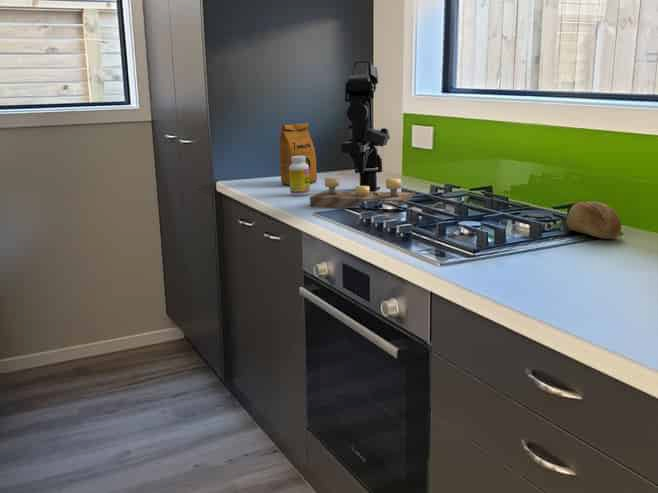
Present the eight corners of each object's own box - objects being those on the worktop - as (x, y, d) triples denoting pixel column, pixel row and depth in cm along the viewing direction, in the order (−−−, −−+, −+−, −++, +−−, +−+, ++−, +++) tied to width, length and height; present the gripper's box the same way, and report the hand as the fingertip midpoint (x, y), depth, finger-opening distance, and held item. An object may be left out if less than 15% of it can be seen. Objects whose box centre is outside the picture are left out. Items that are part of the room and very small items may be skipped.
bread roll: (596, 244, 155) (598, 209, 153) (555, 231, 169) (556, 199, 167) (631, 239, 158) (633, 205, 156) (587, 226, 172) (589, 195, 170)
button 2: (389, 195, 209) (388, 178, 208) (403, 195, 208) (402, 178, 206) (384, 197, 205) (384, 180, 204) (398, 198, 204) (398, 181, 202)
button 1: (328, 193, 217) (328, 177, 216) (341, 193, 215) (341, 177, 214) (323, 195, 213) (322, 179, 212) (336, 196, 212) (335, 179, 210)
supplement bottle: (307, 196, 229) (305, 157, 225) (288, 196, 230) (286, 158, 227) (312, 192, 235) (310, 155, 232) (293, 193, 236) (291, 155, 233)
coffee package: (320, 183, 253) (317, 122, 247) (290, 187, 247) (286, 125, 241) (308, 180, 261) (305, 121, 256) (278, 184, 255) (274, 124, 250)
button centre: (358, 201, 214) (358, 185, 213) (372, 202, 212) (371, 185, 211) (353, 204, 210) (352, 188, 209) (367, 205, 208) (366, 188, 207)
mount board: (310, 206, 212) (309, 196, 211) (325, 199, 222) (325, 190, 222) (404, 210, 200) (403, 200, 199) (415, 202, 211) (415, 192, 210)
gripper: (375, 123, 193) (376, 178, 197) (395, 118, 210) (396, 169, 214) (338, 123, 198) (340, 177, 202) (361, 118, 214) (363, 168, 218)
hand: (361, 173), depth 209 cm, fingers closed
